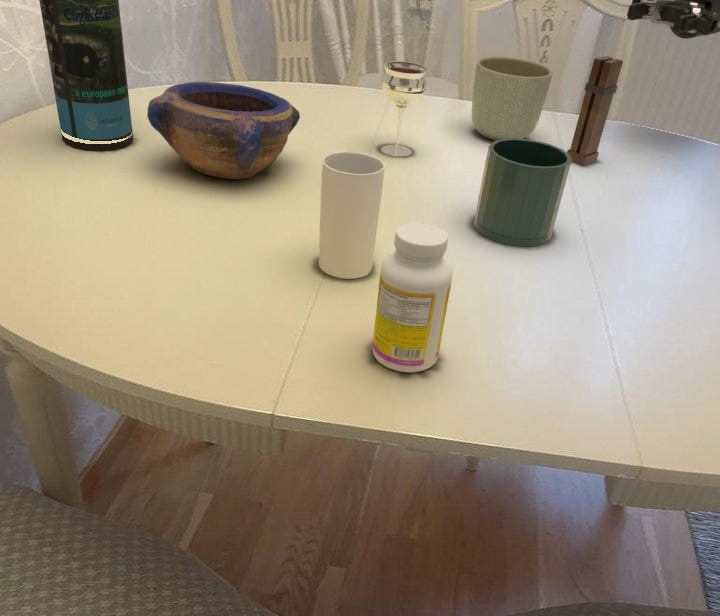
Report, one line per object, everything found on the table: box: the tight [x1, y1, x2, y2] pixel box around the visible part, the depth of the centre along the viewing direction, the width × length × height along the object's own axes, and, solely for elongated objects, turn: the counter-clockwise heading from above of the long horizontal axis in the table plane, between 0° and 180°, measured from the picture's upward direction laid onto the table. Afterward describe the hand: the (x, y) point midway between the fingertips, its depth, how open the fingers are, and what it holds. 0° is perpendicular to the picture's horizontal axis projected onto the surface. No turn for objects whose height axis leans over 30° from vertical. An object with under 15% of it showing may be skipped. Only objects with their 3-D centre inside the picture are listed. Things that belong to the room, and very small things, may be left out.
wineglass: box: [380, 60, 429, 157], centre depth 116 cm, size 7×7×12 cm
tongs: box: [566, 55, 624, 167], centre depth 120 cm, size 4×4×15 cm
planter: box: [471, 55, 553, 141], centre depth 127 cm, size 12×12×11 cm
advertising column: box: [38, 0, 134, 153], centre depth 102 cm, size 11×11×30 cm
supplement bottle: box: [372, 222, 453, 373], centre depth 71 cm, size 7×7×13 cm
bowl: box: [146, 81, 301, 180], centre depth 105 cm, size 18×18×10 cm
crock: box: [473, 138, 572, 247], centre depth 98 cm, size 10×10×10 cm
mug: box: [318, 151, 386, 280], centre depth 86 cm, size 10×7×12 cm, turn 157°
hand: (654, 18), depth 118 cm, fingers open, 8 cm apart
